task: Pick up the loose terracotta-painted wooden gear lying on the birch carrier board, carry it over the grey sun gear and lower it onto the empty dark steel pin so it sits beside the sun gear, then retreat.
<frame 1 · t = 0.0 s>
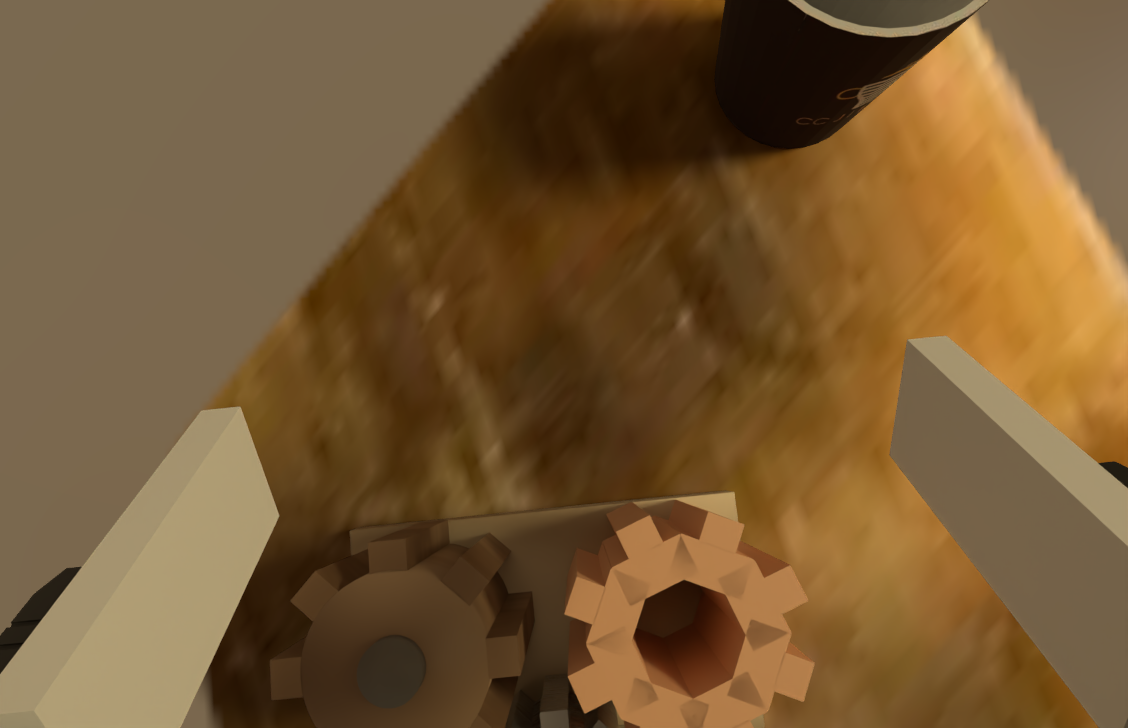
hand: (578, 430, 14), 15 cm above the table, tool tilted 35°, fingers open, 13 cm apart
coffee mug: (819, 78, 32), on the table
planet gear: (660, 593, 27), point 1 cm above the table, touching carrier
pinned planet gear: (419, 640, 23), point 5 cm above the table
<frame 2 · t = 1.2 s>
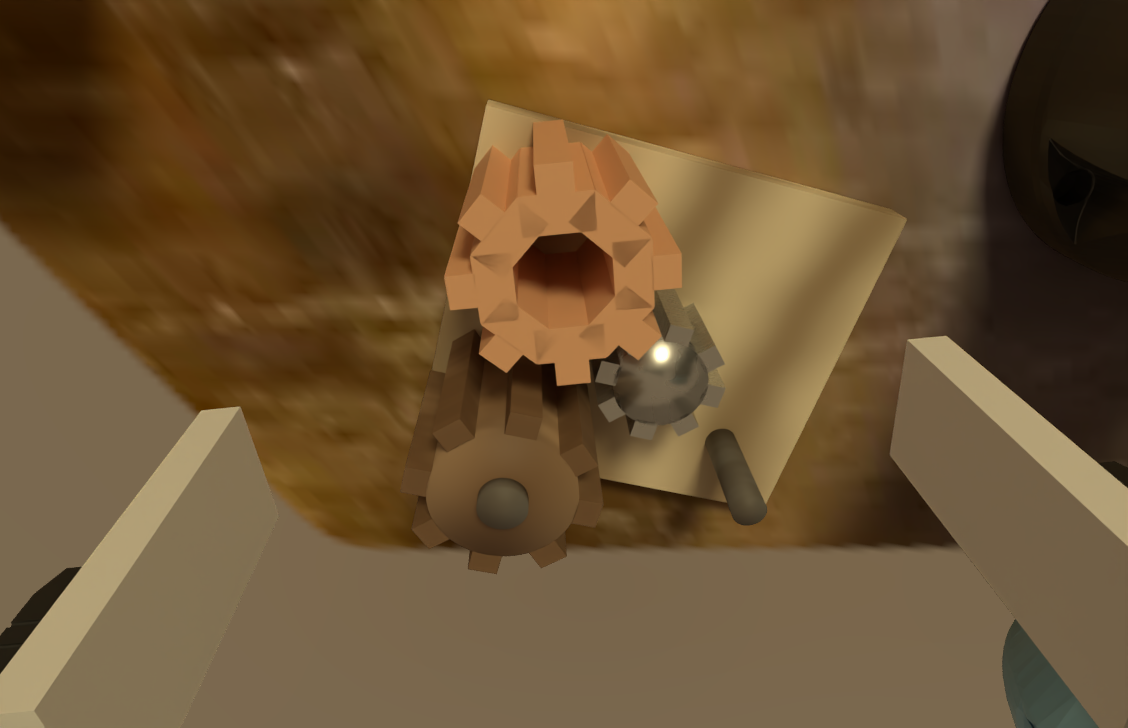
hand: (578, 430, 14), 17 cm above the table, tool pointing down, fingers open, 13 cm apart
carrier: (641, 323, 32), on the table
sun gear: (652, 360, 29), point 4 cm above the table
planet gear: (557, 216, 28), point 1 cm above the table, touching carrier
pinned planet gear: (505, 446, 28), point 5 cm above the table
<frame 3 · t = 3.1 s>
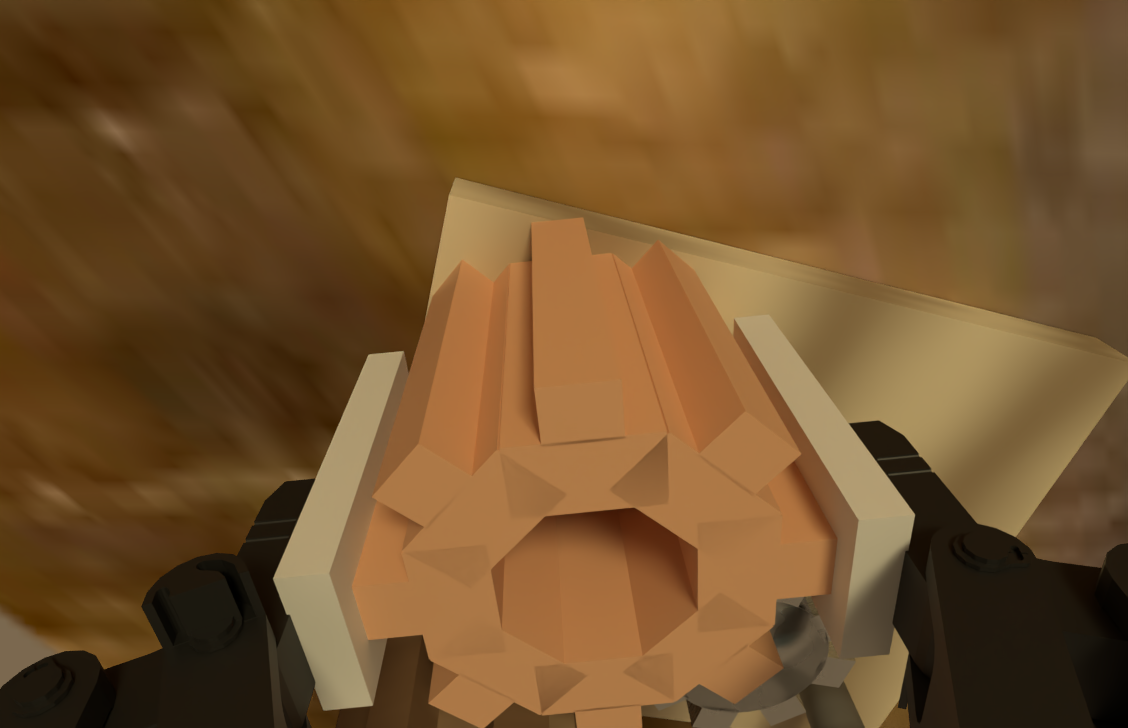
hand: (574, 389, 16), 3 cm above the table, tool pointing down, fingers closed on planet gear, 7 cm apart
carrier: (696, 501, 21), on the table
sun gear: (726, 592, 18), point 4 cm above the table
planet gear: (571, 367, 17), point 2 cm above the table, touching carrier, gripper
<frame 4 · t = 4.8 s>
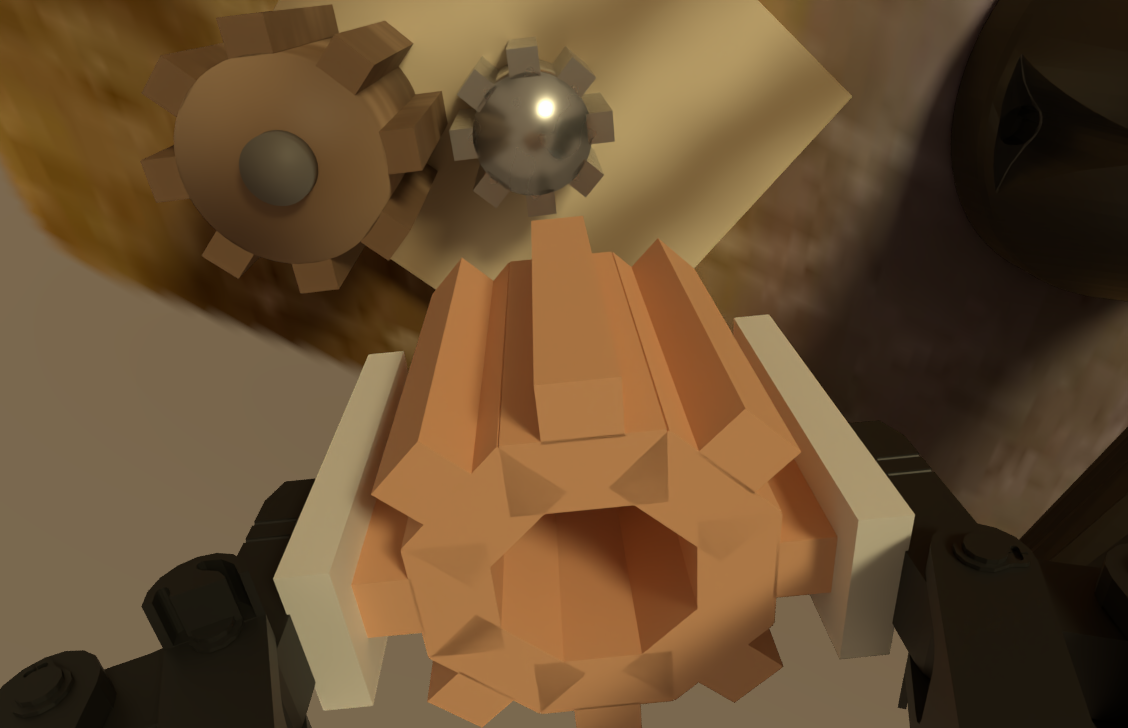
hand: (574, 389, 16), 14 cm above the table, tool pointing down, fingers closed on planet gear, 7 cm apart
carrier: (531, 107, 26), on the table
sun gear: (532, 124, 23), point 4 cm above the table
planet gear: (571, 365, 17), point 13 cm above the table, touching gripper
pinned planet gear: (314, 141, 21), point 5 cm above the table
when the fingers open (4 cm above the table, at t = 7.0 s): planet gear drops 1 cm, resting on carrier.
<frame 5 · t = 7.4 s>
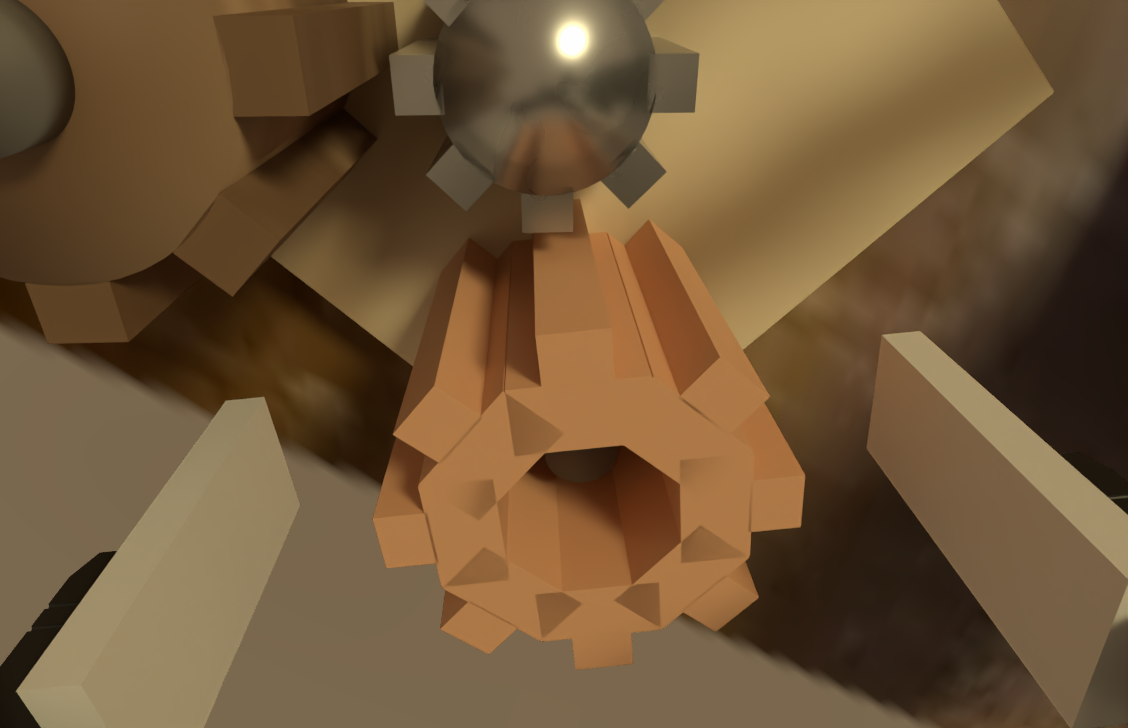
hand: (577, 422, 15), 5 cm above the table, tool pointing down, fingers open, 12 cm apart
carrier: (540, 54, 16), on the table
sun gear: (543, 71, 13), point 4 cm above the table
planet gear: (569, 338, 18), point 1 cm above the table, touching carrier
pinned planet gear: (127, 47, 11), point 5 cm above the table
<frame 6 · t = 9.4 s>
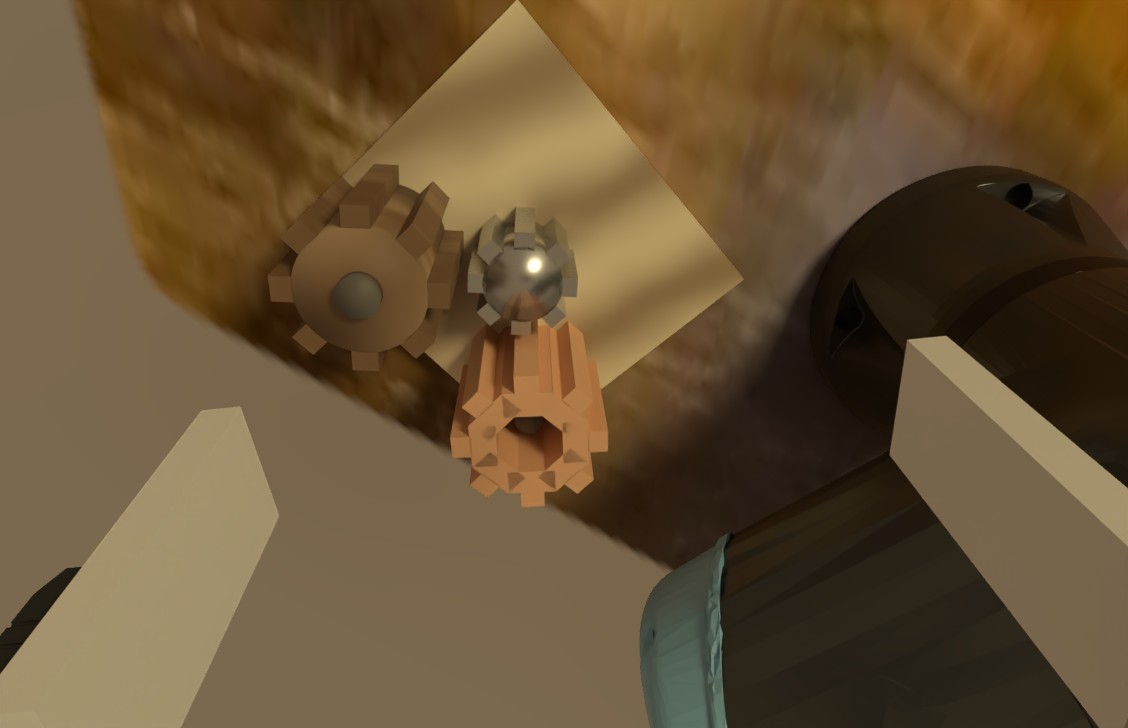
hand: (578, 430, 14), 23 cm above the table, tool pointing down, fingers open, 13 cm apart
carrier: (523, 246, 37), on the table
sun gear: (523, 269, 34), point 4 cm above the table
planet gear: (529, 371, 39), point 1 cm above the table, touching carrier
pinned planet gear: (375, 265, 31), point 5 cm above the table
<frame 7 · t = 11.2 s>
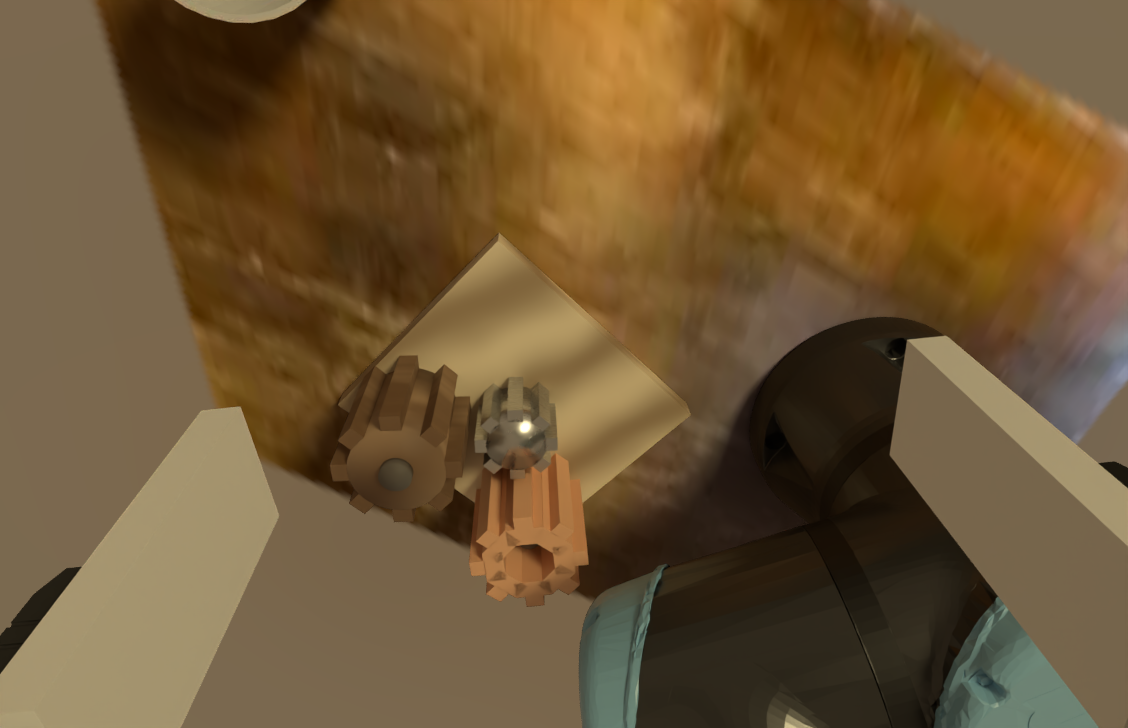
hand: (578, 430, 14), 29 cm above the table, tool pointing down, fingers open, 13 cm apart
carrier: (517, 398, 47), on the table
sun gear: (516, 427, 44), point 4 cm above the table
planet gear: (528, 490, 49), point 1 cm above the table, touching carrier
pinned planet gear: (405, 438, 42), point 5 cm above the table
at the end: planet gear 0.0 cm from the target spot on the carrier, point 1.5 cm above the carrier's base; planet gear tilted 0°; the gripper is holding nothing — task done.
